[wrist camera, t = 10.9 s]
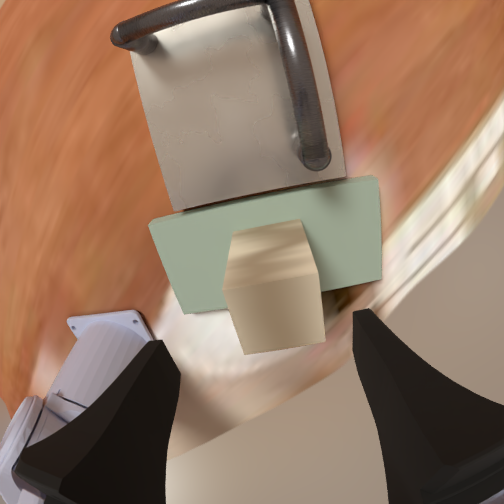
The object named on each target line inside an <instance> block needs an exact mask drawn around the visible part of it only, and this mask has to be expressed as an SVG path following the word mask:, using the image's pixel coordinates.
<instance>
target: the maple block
mask: <svg viewBox="0 0 504 504" xmlns="http://www.w3.org/2000/svg"><path fill="white" fill-rule="evenodd" d="M222 291H223V294H224V297H225V300H226V303H227V306H228V309H229V312H230V315H231V318H232V321H233V324H234V327H235V329H236V332H237V335H238V338H239V341H240V344H241V346H242V349H243V352H244V355H248V354H255V353H262V352H269V351H276V350H282V349H288V348H294V347H300V346H305V345H311V344H316V343H321V342H326V340H325V329H324V319H323V309H322V300H321V291H320V282H319V274H318V270H317V267H316V264H315V261H314V258H313V255H312V252H311V249H310V246H309V243H308V240H307V237H306V234H305V231H304V229H303V226H302V223H301V220H300V219H295V220H290V221H285V222H280V223H274V224H269V225H264V226H259V227H254V228H249V229H244V230H239V231H234V232H233V233H232V239H231V244H230V249H229V255H228V260H227V266H226V271H225V277H224V282H223V288H222Z"/></svg>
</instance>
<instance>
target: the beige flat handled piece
mask: <svg viewBox="0 0 504 504" xmlns="http://www.w3.org/2000/svg"><path fill="white" fill-rule="evenodd" d="M110 39H111V42H112V44H113V45H115V46H117V47H120V48H123V49H126V50H129V51H130V54H131V59H132V63H133V67H134V72H135V76H136V80H137V84H138V88H139V92H140V96H141V100H142V104H143V108H144V111H145V115H146V119H147V123H148V126H149V130H150V134H151V137H152V141H153V144H154V148H155V151H156V155H157V158H158V161H159V165H160V168H161V171H162V175H163V178H164V181H165V185H166V188H167V191H168V194H169V197H170V200H171V204H172V207H173V210H174V211H178V210H182V209H186V208H190V207H195V206H199V205H203V204H207V203H212V202H216V201H221V200H225V199H230V198H234V197H239V196H244V195H249V194H253V193H258V192H263V191H268V190H273V189H278V188H284V187H289V186H294V185H300V184H305V183H311V182H316V181H322V180H328V179H334V178H340V177H346V171H345V163H344V156H343V149H342V143H341V137H340V131H339V125H338V119H337V114H336V108H335V103H334V98H333V93H332V88H331V83H330V79H329V74H328V70H327V66H326V61H325V57H324V53H323V49H322V45H321V41H320V37H319V34H318V30H317V26H316V23H315V19H314V16H313V13H312V9H311V6H310V3H309V0H178V1H175V2H172V3H169V4H166V5H163V6H161V7H158V8H155V9H152V10H150V11H147V12H145V13H142V14H140V15H137V16H135V17H133V18H130V19H128V20H126V21H122V22H120V23H118V24H117V25H116V26H115V27H114V28H113V30H112V32H111V36H110Z"/></svg>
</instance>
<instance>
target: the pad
mask: <svg viewBox="0 0 504 504" xmlns="http://www.w3.org/2000/svg"><path fill="white" fill-rule="evenodd" d="M295 219H300V220H301V223H302V226H303V229H304V231H305V234H306V237H307V240H308V243H309V246H310V249H311V252H312V255H313V258H314V261H315V264H316V267H317V270H318V274H319V282H320V291H321V292H323V291H328V290H333V289H338V288H342V287H347V286H352V285H357V284H361V283H366V282H371V281H375V280H380V279H382V246H381V216H380V198H379V185H378V179H377V178H376V177H374V176H373V175H370V176H363V177H356V178H350V179H344V180H338V181H332V182H326V183H320V184H314V185H309V186H303V187H298V188H292V189H287V190H282V191H277V192H271V193H266V194H261V195H256V196H252V197H247V198H242V199H237V200H233V201H228V202H223V203H219V204H214V205H210V206H206V207H201V208H197V209H193V210H188V211H184V212H180V213H176V214H172V215H168V216H164V217H160V218H156V219H153V220H152V221H151V222H150V223H149V225H148V226H149V229H150V232H151V235H152V237H153V240H154V243H155V245H156V248H157V250H158V253H159V256H160V258H161V261H162V263H163V266H164V268H165V271H166V273H167V276H168V278H169V281H170V283H171V285H172V288H173V290H174V292H175V295H176V297H177V299H178V302H179V304H180V306H181V309H182V311H183V313H184V314H191V313H198V312H205V311H212V310H219V309H225V308H228V306H227V303H226V300H225V297H224V294H223V291H222V288H223V282H224V277H225V271H226V266H227V260H228V255H229V249H230V244H231V239H232V233H233V232H234V231H239V230H244V229H249V228H254V227H259V226H264V225H269V224H274V223H280V222H285V221H290V220H295Z"/></svg>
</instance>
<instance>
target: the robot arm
mask: <svg viewBox="0 0 504 504" xmlns="http://www.w3.org/2000/svg"><path fill="white" fill-rule="evenodd" d="M135 320H137V321H138V322H137V321H135ZM67 323H68V325H69V327H70V328H71V330H72V332H73V333H74V335H75V336H76V338H77V339H78V340H77V342H76V343H75V345H74V347H73V348H72V350H71V352H70V353H69V355H68V357H67V359H66V360H65V362H64V364H63V366H62V367H61V369H60V371H59V373H58V375H57V376H56V378H55V380H54V382H53V384H52V385H51V387H50V389H49V391H48V393H47V395H46V397H45V398H44V399H43V400H42V399H41V398H40V397H39V396H37V395H35V396H33V397H32V396H31V397H26V398H25V399H24V401H23V402H22V403H21V405H20V406H19V408H18V410H17V411H16V413H15V415H14V417H13V418H12V420H11V422H10V424H9V426H8V428H7V430H6V432H5V434H4V436H3V439H2V441H1V444H0V494H1V496H2V497H3V499H4V501H5V502H6V504H166V496H165V480H166V461H167V449H168V443H169V438H170V434H171V429H172V424H173V420H174V416H175V411H176V407H177V402H178V397H179V389H180V376H181V373H180V371H179V369H178V368H177V366H176V364H175V362H174V361H173V359H172V357H171V355H170V353H169V352H168V350H167V348H166V346H165V344H164V342H163V340H153V338H152V336H151V334H150V332H149V331H148V329H147V327H146V325H145V323H144V321H143V319H142V318H141V316H140V314H139V313H138V312H137V311H135V310H127V311H119V312H111V313H103V314H94V315H85V316H76V317H69V318H68V320H67ZM353 354H354V358H355V363H356V367H357V371H358V375H359V377H360V380H361V383H362V386H363V388H364V391H365V394H366V397H367V400H368V402H369V405H370V408H371V411H372V414H373V417H374V419H375V423H376V426H377V430H378V435H379V440H380V445H381V449H382V455H383V461H384V467H385V474H386V481H387V490H388V500H389V504H504V405H501V404H498V403H496V402H493V401H491V400H489V399H486V398H484V397H482V396H480V395H478V394H476V393H474V392H472V391H470V390H468V389H466V388H465V387H462V386H461V385H459V384H457V383H456V382H454V381H452V380H451V379H449V378H448V377H446V376H445V375H443V374H442V373H440V372H439V371H438V370H436V369H435V368H433V367H432V366H431V365H429V364H428V363H427V362H426V361H424V360H423V359H422V358H421V357H419V356H418V355H417V354H416V353H415V352H413V351H412V350H411V349H410V348H409V347H408V346H407V345H406V344H405V343H404V342H402V341H401V340H400V339H399V338H398V337H397V336H396V335H395V334H394V333H393V332H392V331H391V330H390V329H389V328H388V327H387V326H386V325H385V324H384V323H383V322H382V321H381V320H380V319H379V318H378V317H377V316H376V315H375V314H374V312H373V311H372V310H370V309H369V308H368V309H363V310H359V311H354V312H353Z"/></svg>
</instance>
